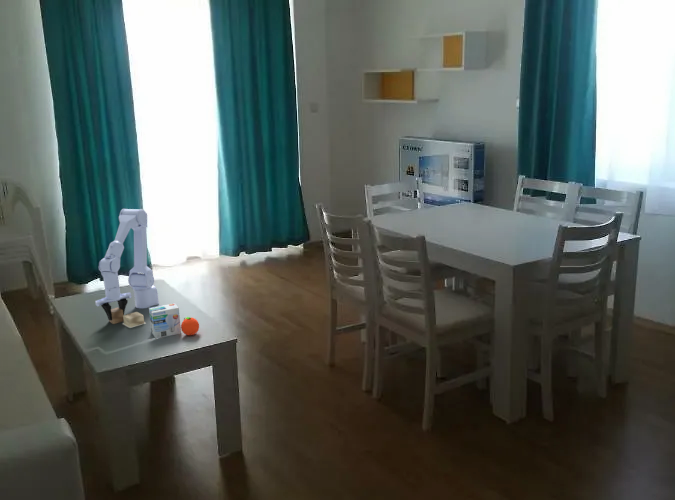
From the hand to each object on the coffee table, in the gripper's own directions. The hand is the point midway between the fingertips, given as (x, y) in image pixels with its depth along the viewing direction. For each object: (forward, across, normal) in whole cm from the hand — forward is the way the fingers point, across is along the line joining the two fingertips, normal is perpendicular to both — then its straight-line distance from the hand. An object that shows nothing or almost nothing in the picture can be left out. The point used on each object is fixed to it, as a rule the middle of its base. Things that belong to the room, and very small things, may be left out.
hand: (116, 318), depth 272 cm
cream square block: (+1, -4, +8) cm, 9 cm away
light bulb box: (+2, -9, +26) cm, 28 cm away
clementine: (+2, -15, +34) cm, 37 cm away
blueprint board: (+2, -2, +5) cm, 6 cm away
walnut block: (+1, 0, 0) cm, 1 cm away
